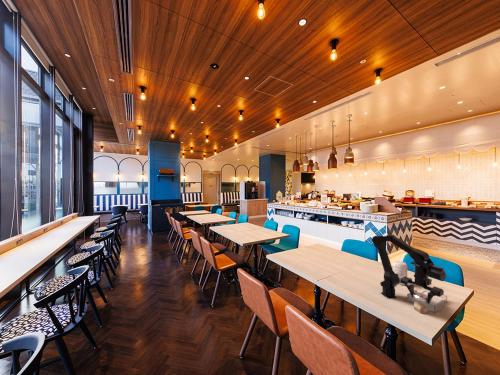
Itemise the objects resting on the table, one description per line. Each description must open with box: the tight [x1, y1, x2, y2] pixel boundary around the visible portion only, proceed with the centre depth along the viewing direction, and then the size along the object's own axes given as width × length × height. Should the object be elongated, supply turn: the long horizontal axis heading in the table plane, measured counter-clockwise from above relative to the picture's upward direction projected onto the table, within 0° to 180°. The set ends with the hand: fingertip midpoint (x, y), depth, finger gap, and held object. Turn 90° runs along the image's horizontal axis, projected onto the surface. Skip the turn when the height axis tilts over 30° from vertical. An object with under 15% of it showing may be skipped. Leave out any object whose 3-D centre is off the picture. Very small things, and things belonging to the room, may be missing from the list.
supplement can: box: [393, 260, 408, 286], centre depth 153 cm, size 8×8×15 cm
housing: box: [406, 289, 445, 313], centre depth 127 cm, size 12×14×4 cm
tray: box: [417, 288, 448, 304], centre depth 131 cm, size 12×12×4 cm
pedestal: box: [413, 302, 428, 314], centre depth 119 cm, size 4×4×4 cm
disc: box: [413, 291, 428, 302], centre depth 119 cm, size 7×7×2 cm
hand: (420, 300), depth 119 cm, fingers closed on disc, 7 cm apart
